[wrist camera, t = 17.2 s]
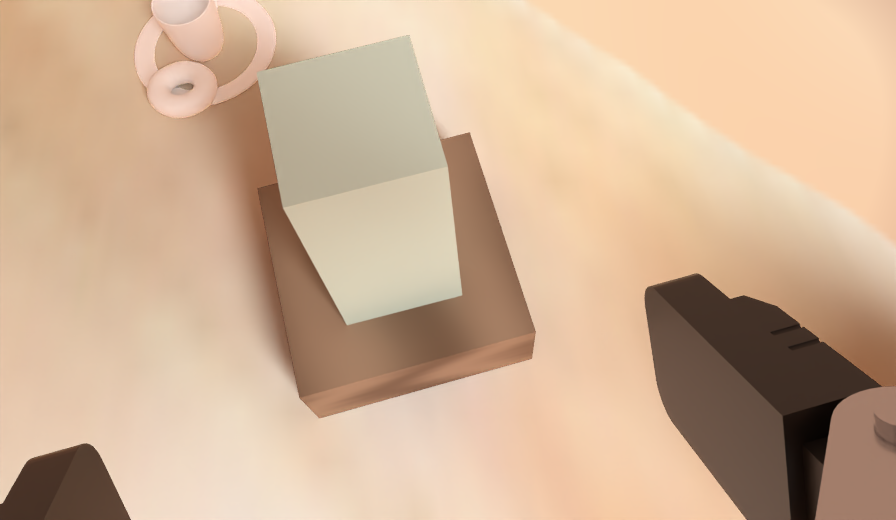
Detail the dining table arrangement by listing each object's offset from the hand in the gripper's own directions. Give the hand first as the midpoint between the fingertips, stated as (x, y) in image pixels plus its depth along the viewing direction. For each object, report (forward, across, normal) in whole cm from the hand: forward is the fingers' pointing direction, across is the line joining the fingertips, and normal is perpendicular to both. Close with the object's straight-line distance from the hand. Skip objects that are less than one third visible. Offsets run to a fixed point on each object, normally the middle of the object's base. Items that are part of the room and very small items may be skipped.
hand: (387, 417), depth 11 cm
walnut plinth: (+26, 0, +9) cm, 27 cm away
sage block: (+23, 0, +6) cm, 23 cm away
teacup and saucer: (+38, +10, -2) cm, 39 cm away
